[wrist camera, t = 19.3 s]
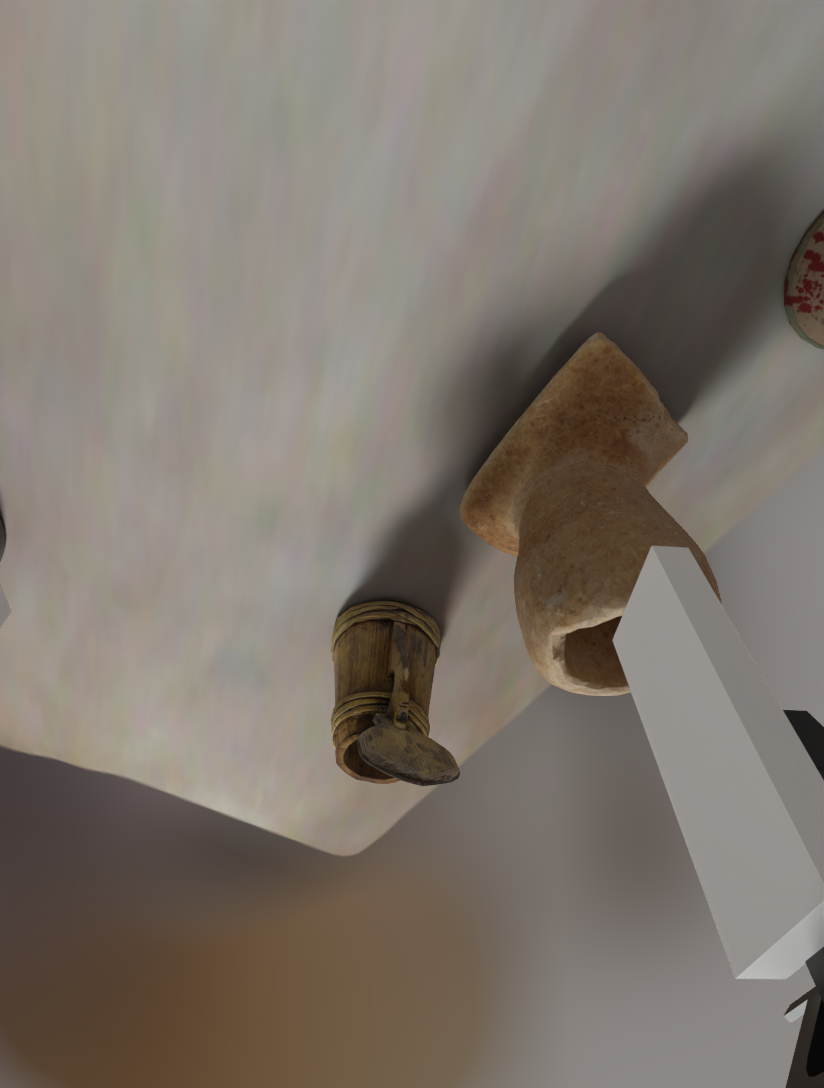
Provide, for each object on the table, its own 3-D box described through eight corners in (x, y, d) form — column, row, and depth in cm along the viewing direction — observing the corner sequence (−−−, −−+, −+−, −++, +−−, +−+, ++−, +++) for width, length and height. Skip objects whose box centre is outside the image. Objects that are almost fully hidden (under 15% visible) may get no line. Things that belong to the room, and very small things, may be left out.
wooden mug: (479, 573, 47) (505, 799, 33) (419, 683, 55) (420, 903, 41) (364, 542, 45) (340, 767, 31) (320, 660, 53) (285, 882, 39)
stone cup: (566, 574, 47) (615, 750, 35) (435, 502, 43) (441, 673, 32) (731, 420, 39) (864, 582, 28) (588, 315, 35) (672, 451, 24)
